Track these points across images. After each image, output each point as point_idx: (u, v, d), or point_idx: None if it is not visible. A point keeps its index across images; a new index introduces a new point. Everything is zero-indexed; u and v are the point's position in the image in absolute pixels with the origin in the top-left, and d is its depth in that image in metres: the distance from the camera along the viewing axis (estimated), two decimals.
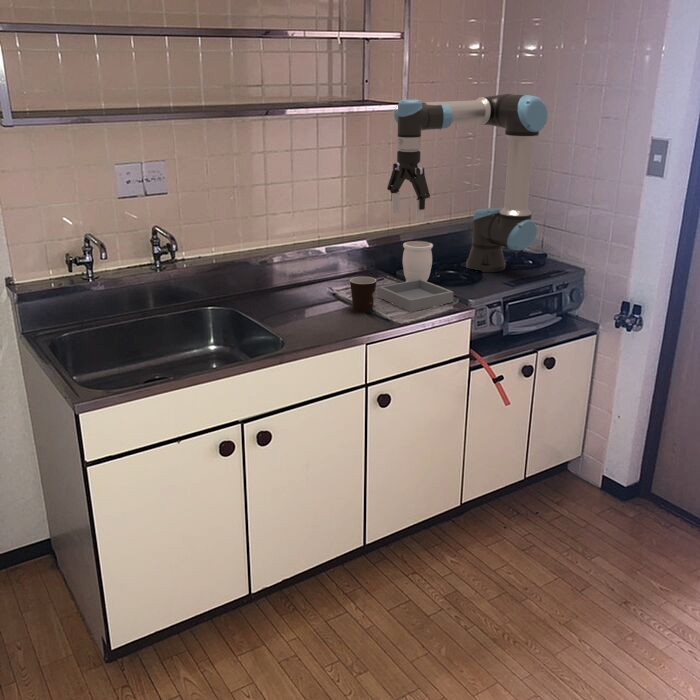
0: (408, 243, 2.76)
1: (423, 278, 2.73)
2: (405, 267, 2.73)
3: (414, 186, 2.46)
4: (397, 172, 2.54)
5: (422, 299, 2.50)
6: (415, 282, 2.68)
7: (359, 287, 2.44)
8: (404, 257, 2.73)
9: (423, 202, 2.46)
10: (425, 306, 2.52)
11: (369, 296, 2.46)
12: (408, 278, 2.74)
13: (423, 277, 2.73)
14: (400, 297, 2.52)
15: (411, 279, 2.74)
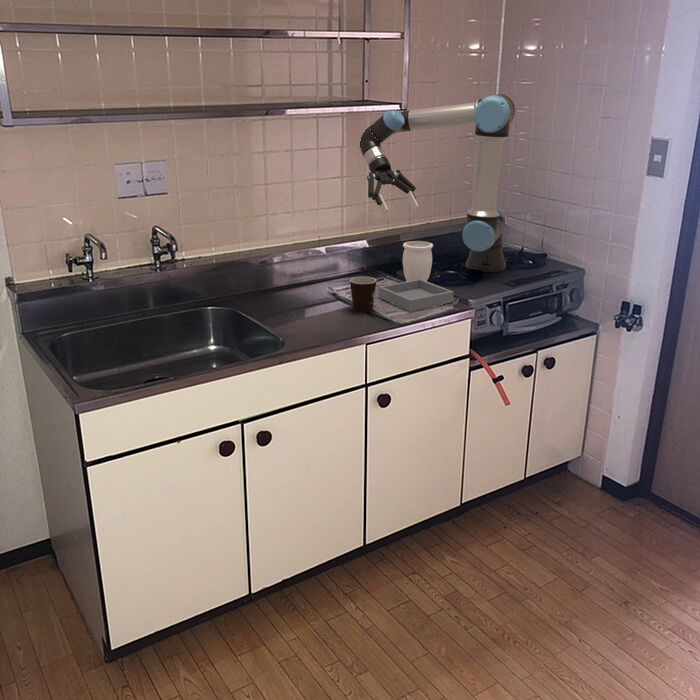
0: (408, 243, 2.76)
1: (423, 278, 2.73)
2: (405, 267, 2.73)
3: None
4: (399, 178, 2.84)
5: (422, 299, 2.50)
6: (415, 282, 2.68)
7: (359, 287, 2.44)
8: (404, 257, 2.73)
9: (376, 198, 2.74)
10: (425, 306, 2.52)
11: (369, 296, 2.46)
12: (408, 278, 2.74)
13: (423, 277, 2.73)
14: (400, 297, 2.52)
15: (411, 279, 2.74)
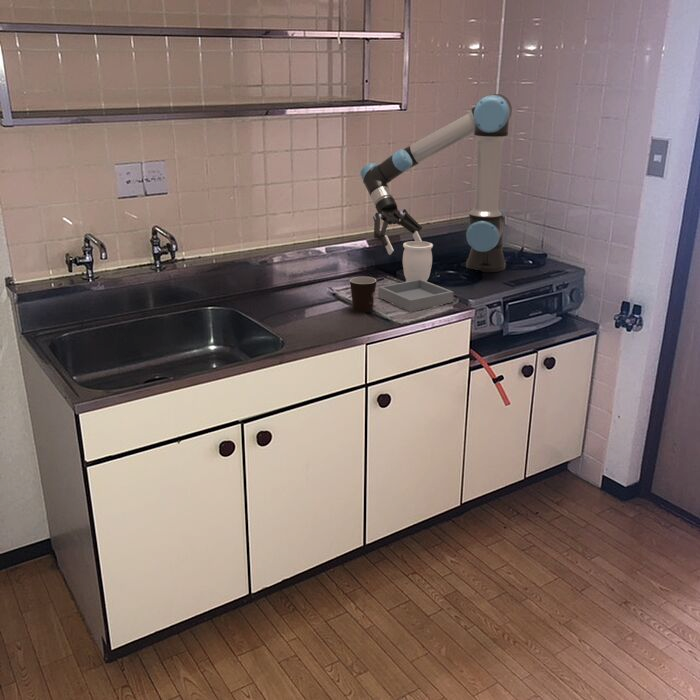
0: (408, 243, 2.76)
1: (423, 278, 2.73)
2: (405, 267, 2.73)
3: None
4: (405, 217, 2.84)
5: (422, 299, 2.50)
6: (415, 282, 2.68)
7: (359, 287, 2.44)
8: (404, 257, 2.73)
9: (381, 239, 2.75)
10: (425, 306, 2.52)
11: (369, 296, 2.46)
12: (408, 278, 2.74)
13: (423, 277, 2.73)
14: (400, 297, 2.52)
15: (411, 279, 2.74)
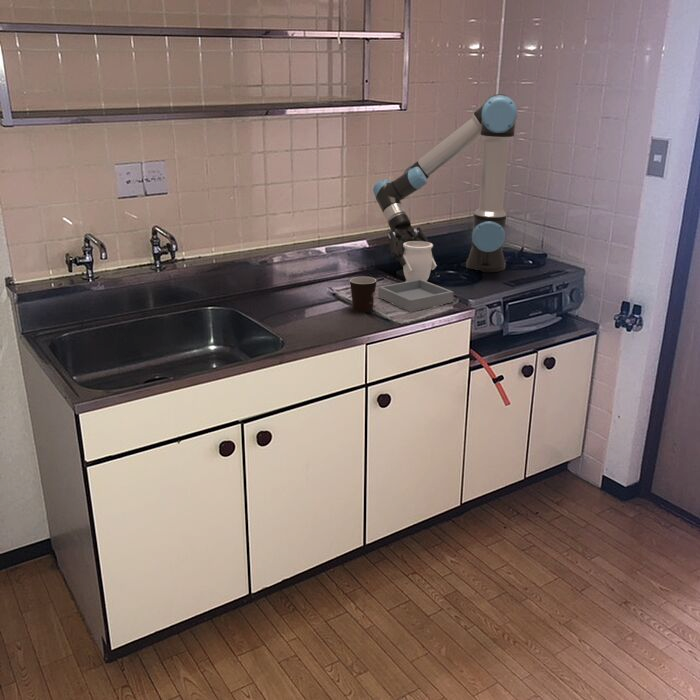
0: (408, 243, 2.76)
1: (423, 278, 2.73)
2: None
3: None
4: (419, 235, 2.81)
5: (422, 299, 2.50)
6: (415, 282, 2.68)
7: (359, 287, 2.44)
8: None
9: (399, 259, 2.72)
10: (425, 306, 2.52)
11: (369, 296, 2.46)
12: (408, 278, 2.74)
13: (423, 277, 2.73)
14: (400, 297, 2.52)
15: (411, 279, 2.74)
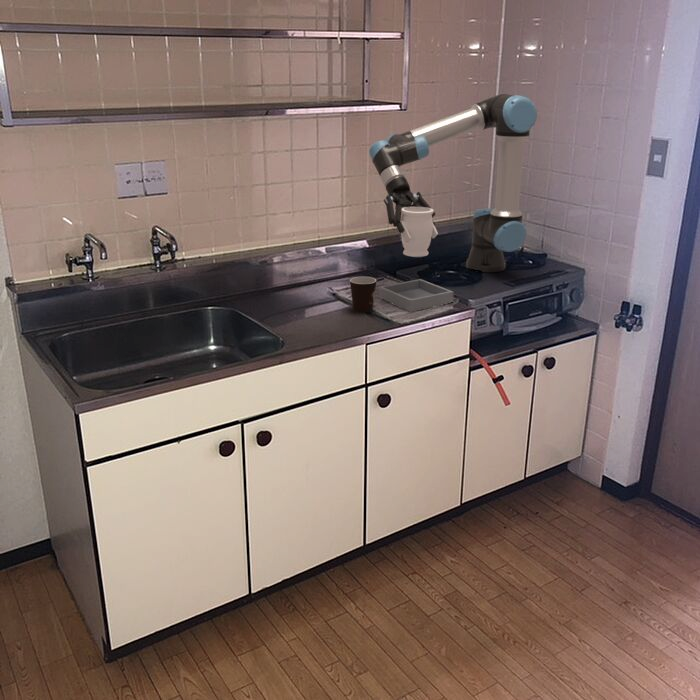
0: (407, 209, 2.53)
1: (423, 247, 2.50)
2: None
3: None
4: (418, 201, 2.57)
5: (422, 299, 2.50)
6: (415, 282, 2.68)
7: (359, 287, 2.44)
8: None
9: (397, 225, 2.48)
10: (425, 306, 2.52)
11: (369, 296, 2.46)
12: (406, 247, 2.51)
13: (423, 245, 2.50)
14: (400, 297, 2.52)
15: (410, 248, 2.50)
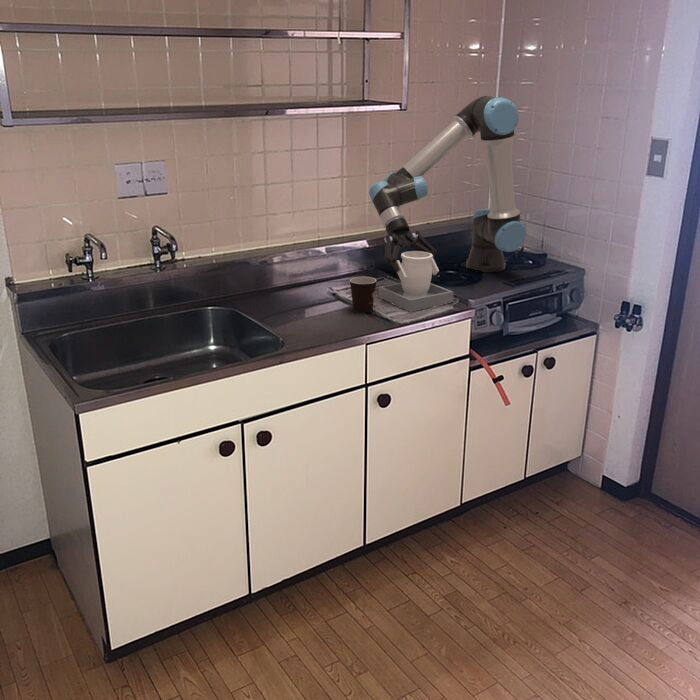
0: (406, 253, 2.58)
1: (422, 291, 2.55)
2: None
3: None
4: (418, 240, 2.62)
5: (422, 299, 2.50)
6: None
7: (359, 287, 2.44)
8: None
9: (393, 264, 2.53)
10: (425, 306, 2.52)
11: (369, 296, 2.46)
12: (406, 291, 2.56)
13: (422, 290, 2.55)
14: (400, 297, 2.52)
15: (409, 292, 2.56)
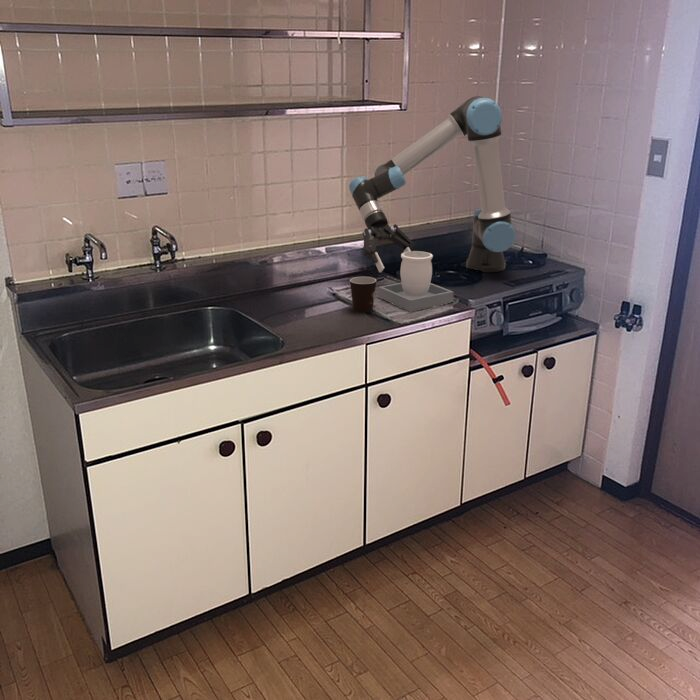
0: (406, 253, 2.58)
1: (422, 291, 2.55)
2: (403, 279, 2.55)
3: None
4: (396, 233, 2.72)
5: (422, 299, 2.50)
6: None
7: (359, 287, 2.44)
8: (402, 268, 2.54)
9: (371, 256, 2.62)
10: (425, 306, 2.52)
11: (369, 296, 2.46)
12: (406, 291, 2.56)
13: (422, 290, 2.55)
14: (400, 297, 2.52)
15: (409, 292, 2.56)
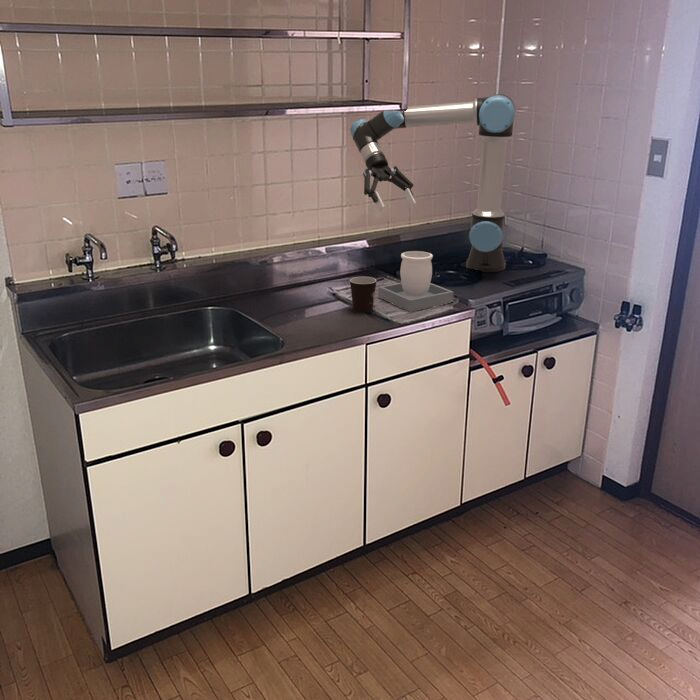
0: (406, 253, 2.58)
1: (422, 291, 2.55)
2: (403, 279, 2.55)
3: None
4: (396, 174, 2.77)
5: (422, 299, 2.50)
6: None
7: (359, 287, 2.44)
8: (402, 268, 2.54)
9: (372, 195, 2.67)
10: (425, 306, 2.52)
11: (369, 296, 2.46)
12: (406, 291, 2.56)
13: (422, 290, 2.55)
14: (400, 297, 2.52)
15: (409, 292, 2.56)
